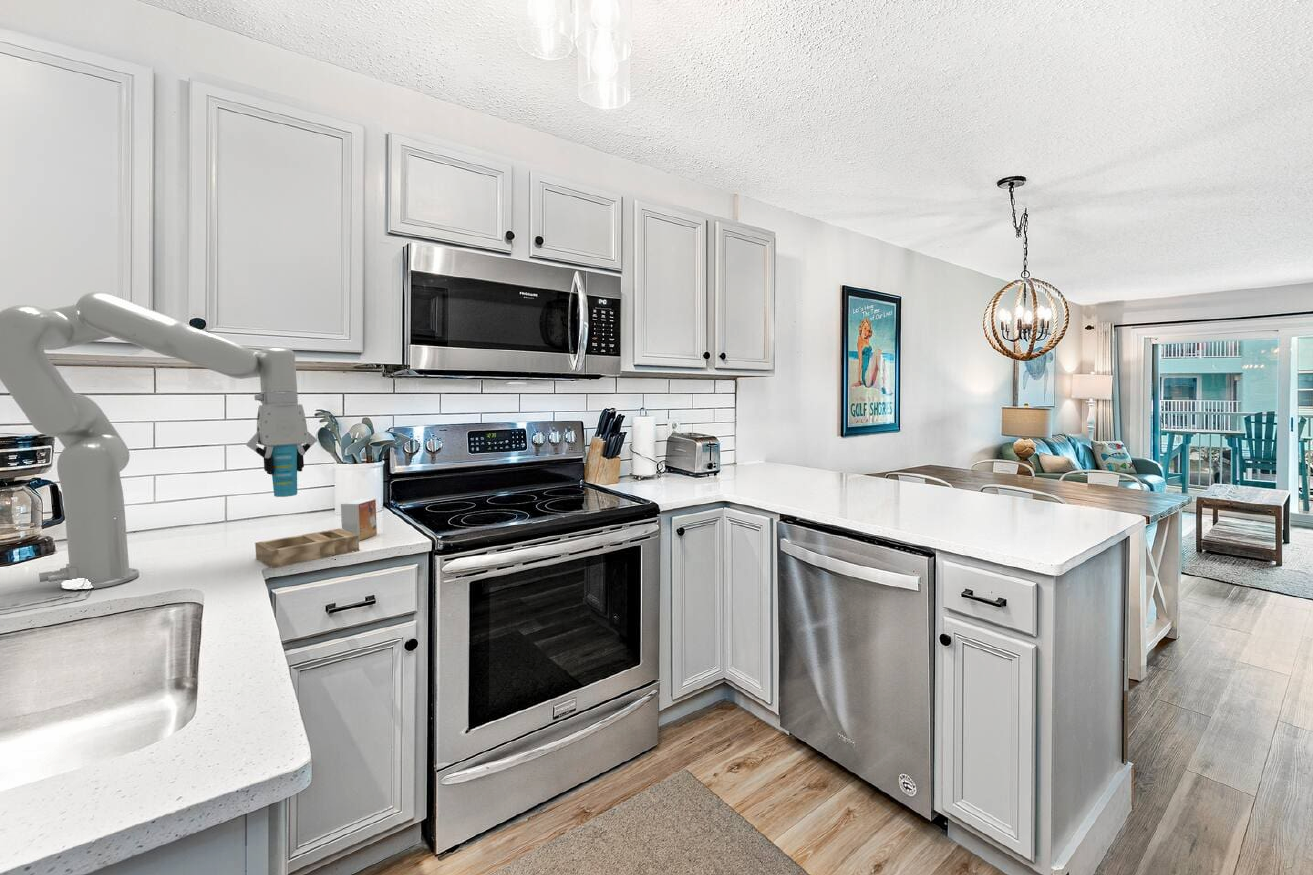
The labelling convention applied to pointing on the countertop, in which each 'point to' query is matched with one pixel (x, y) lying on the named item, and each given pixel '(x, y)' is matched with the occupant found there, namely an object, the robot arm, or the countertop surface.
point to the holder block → (306, 547)
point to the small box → (359, 517)
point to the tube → (284, 470)
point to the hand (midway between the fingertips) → (284, 471)
